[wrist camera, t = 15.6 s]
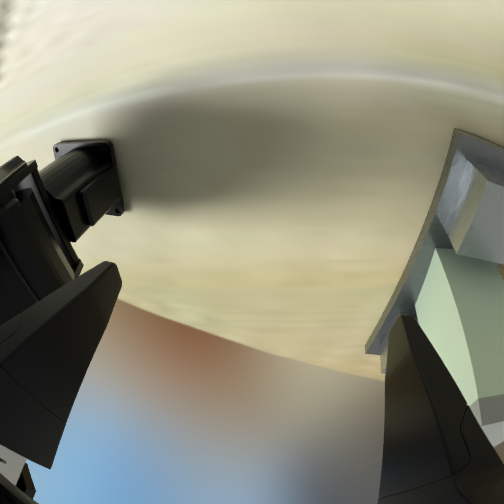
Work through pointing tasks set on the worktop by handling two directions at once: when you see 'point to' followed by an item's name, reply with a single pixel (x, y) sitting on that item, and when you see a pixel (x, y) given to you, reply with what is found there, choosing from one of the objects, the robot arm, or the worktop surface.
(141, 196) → the worktop surface
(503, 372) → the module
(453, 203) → the rail
